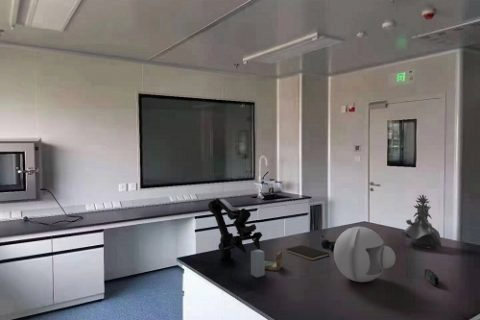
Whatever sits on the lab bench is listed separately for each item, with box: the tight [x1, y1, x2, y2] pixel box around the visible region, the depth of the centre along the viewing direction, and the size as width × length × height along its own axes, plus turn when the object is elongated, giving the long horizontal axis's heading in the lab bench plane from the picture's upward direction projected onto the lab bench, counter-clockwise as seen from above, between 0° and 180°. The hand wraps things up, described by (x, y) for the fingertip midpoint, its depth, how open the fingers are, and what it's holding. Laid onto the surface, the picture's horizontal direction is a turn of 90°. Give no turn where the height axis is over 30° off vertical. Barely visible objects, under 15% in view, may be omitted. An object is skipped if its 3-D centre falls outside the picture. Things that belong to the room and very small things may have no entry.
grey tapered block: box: [250, 249, 266, 278], centre depth 193 cm, size 5×6×13 cm
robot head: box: [333, 226, 397, 283], centre depth 183 cm, size 28×30×28 cm
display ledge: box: [265, 250, 283, 272], centre depth 205 cm, size 12×8×9 cm, turn 69°
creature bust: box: [401, 194, 442, 249], centre depth 244 cm, size 24×23×35 cm
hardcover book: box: [285, 244, 330, 261], centre depth 231 cm, size 16×23×2 cm
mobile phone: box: [424, 268, 441, 289], centre depth 181 cm, size 5×3×15 cm
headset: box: [320, 235, 336, 252], centre depth 241 cm, size 13×9×19 cm
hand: (252, 251), depth 197 cm, fingers open, 9 cm apart
